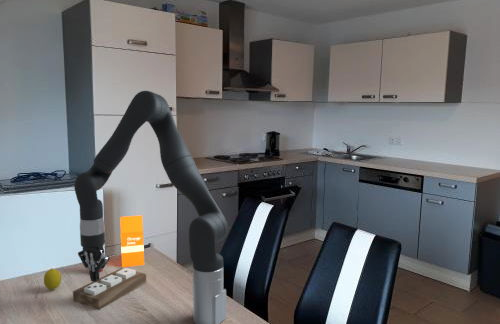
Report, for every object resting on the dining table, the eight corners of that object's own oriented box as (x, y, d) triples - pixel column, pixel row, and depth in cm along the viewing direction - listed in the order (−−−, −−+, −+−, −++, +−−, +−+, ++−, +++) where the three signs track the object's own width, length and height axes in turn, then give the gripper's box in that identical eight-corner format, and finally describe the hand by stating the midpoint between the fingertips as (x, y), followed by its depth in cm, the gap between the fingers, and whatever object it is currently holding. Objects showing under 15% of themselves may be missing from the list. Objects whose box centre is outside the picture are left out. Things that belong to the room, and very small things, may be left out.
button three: (106, 292, 135) (106, 285, 134) (94, 298, 130) (94, 291, 130) (96, 289, 137) (95, 281, 136) (84, 295, 132) (83, 287, 132)
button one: (136, 276, 147) (135, 270, 146) (126, 282, 142) (125, 275, 142) (126, 274, 149) (125, 267, 149) (115, 279, 145) (115, 272, 144)
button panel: (146, 283, 147) (146, 274, 146) (99, 309, 128) (98, 299, 127) (122, 276, 152) (121, 267, 152) (73, 301, 133) (73, 291, 132)
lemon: (41, 291, 140) (39, 269, 138) (55, 285, 144) (53, 264, 143) (51, 295, 137) (49, 273, 136) (65, 288, 142) (64, 267, 141)
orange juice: (122, 260, 168) (120, 214, 165) (143, 257, 171) (142, 212, 168) (121, 267, 161) (119, 219, 158) (144, 265, 163) (142, 217, 160)
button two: (122, 284, 141) (121, 277, 140) (111, 290, 136) (110, 282, 136) (111, 281, 143) (111, 274, 143) (100, 287, 139) (100, 279, 138)
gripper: (115, 230, 131) (117, 280, 133) (87, 224, 137) (90, 272, 139) (97, 237, 124) (100, 289, 127) (68, 230, 130) (71, 280, 133)
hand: (94, 280), depth 133 cm, fingers closed
